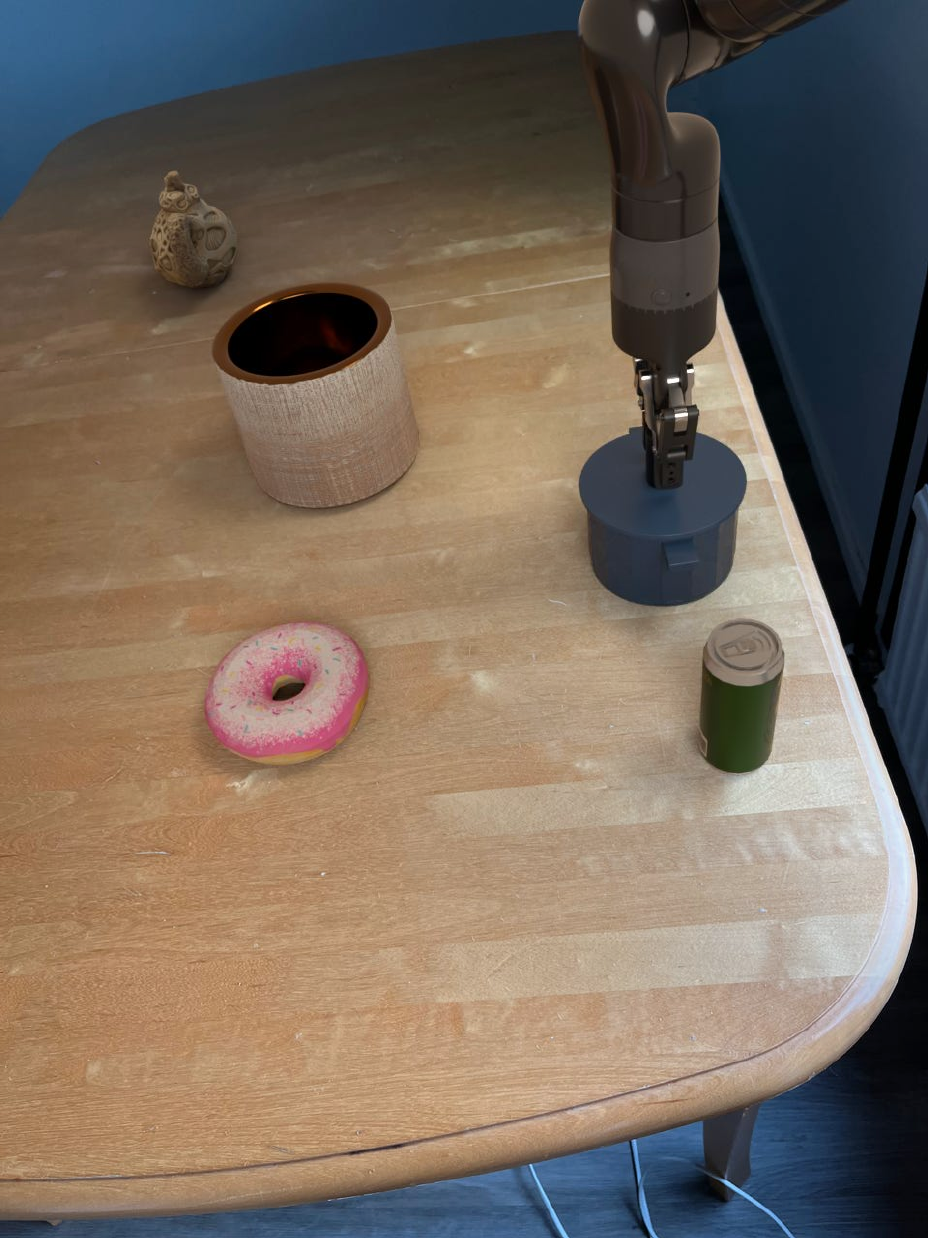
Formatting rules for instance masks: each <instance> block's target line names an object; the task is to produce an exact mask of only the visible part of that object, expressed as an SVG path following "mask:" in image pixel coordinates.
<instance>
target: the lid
mask: <svg viewBox="0 0 928 1238" xmlns="http://www.w3.org/2000/svg"><path fill="white" fill-rule="evenodd" d="M645 433H646V450H644V447H643V444H642V431H636V432H633V433H629V432H628V433H626V434H624V435H621V436H618V437H615V438H614V439H611V440H609V441H607V442H606V443H605V444H603V445H602V446H600V447H599V448H598V449H596V450H595V451H594V452H592V454H591V455H590V456H589V457H588V459H587V460H586V461H585V462H584V464H583V466H582V467H581V470H580V474H579V477H578V493H579V498H580V500H581V503H582V505H583V507H584V509H585V510H586V512H587V511H588V512H589V513H590V515H591V516H592V517H593V518H595V519H596V520H597V521H598V522H600V523H601V524H602V525H604V526H606V527H608V528H609V529H611V530H613V531H616V532H618V533H621V534H624V535H628V536H631V537H636V538H641V539H651V540H670V539H680V538H685V537H690V536H693V535H697V534H700V533H703V532H705V531H708V530H710V529H712V528H714V527H716V526H718V525H720V524H721V523H723V522H724V521H725V520H727V519H728V518H729V517H730V516H731V515H732V514H734V512H735V511H736V510H737V509H738V507H739V508H740V506H741V505H742V502H743V501H744V499H745V496H746V493H747V486H748V478H747V477H748V476H747V471H746V468H745V466H744V464H743V462H742V460H741V459H740V457H739V456H738V455H737V453H735V451H733V449H731V448H730V447H729V446H728V445H726V444H725V443H724V442H722V441H720V440H719V439H716V438H714V437H712V436H710V435H707V434H704V433H702V432H698V431H696V438H695V445H694V455H693V459H692V460H688V461H684V464H683V484H682V486H681V487H679V488H675V489H668V490H657V489H656V487H655V483H654V452H653V451H652V446H653V434H652V430H651V429H649V427H647V428H646V432H645Z"/></svg>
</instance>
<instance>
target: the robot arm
mask: <svg viewBox="0 0 928 1238" xmlns="http://www.w3.org/2000/svg"><path fill="white" fill-rule="evenodd" d="M850 2H853V0H584V1H583V3H582V6H581V9H580V12H579V16H578V17H579V18H578V23H577V28H576V29H577V30H576V31H577V32H576V41H577V42H576V44H577V45H576V46H577V51H578V58H579V62H580V63H579V64H580V66H581V70H582V74H583V76H584V79H585V84H586V85H587V88H588V89H587V90H588V91H589V94H590V97H591V101H592V105H593V108H594V110H595V114H596V117H597V121H598V126H599V128H600V132H601V136H602V139H603V143H604V146H605V150H606V152H607V153H606V154H607V157H608V161H609V166H610V207H611V208H610V209H611V230H610V238H609V239H610V241H609V249H608V250H609V253H608V254H609V257H608V258H609V288H610V291H609V293H610V320H611V322H610V323H611V338H612V340H613V342H614V344H615V345H616V347H617V348H618V349H619V350H620V351H622V353H624V354H625V355H628V356H629V357H632V360H631V361H632V364H633V369H634V370H633V371H634V377H633V386H634V388H635V390H636V396H638V400H637V406H638V407H639V409H640V411H641V426H642V444H643V447H644V450H646V433H645V432H646V428H647V427H649V429H651V430H652V434H653V446H652V451H653V452H654V483H655V487H656V489H657V490H668V489H675V488H679V487H681V486H682V484H683V464H684V461H688V460H692V459H693V455H694V445H695V438H696V432H698V424H699V416H700V409H699V408H698V405H697V404H696V403H694V404H693V395H692V391H693V390H692V389H693V387H694V386H695V382H696V381H695V367H694V363H693V362H688V361H689V360H690V359H691V358H693V357H694V356H695V355H696V354H698V353H699V352H701V351H703V350H704V349H705V348H707V346H708V345H709V344H711V342H712V340H713V339H714V336H715V334H716V329H717V315H718V295H719V293H718V292H719V273H720V272H719V271H720V256H721V240H720V229H719V200H720V198H719V197H720V178H721V177H720V176H721V175H720V174H721V141H720V136H719V134H718V131H717V129H716V127H715V126H714V125H713V123H712V122H711V121H709V120H708V119H706V118H705V117H702V116H701V115H699V114H694V113H690V112H680V111H678V112H675V111H674V112H668V108H667V96H668V91H669V90H671V89H674V88H676V87H679V86H681V85H683V84H686V83H688V82H691V81H693V80H696V79H698V78H700V77H703V76H705V75H707V74H710V73H712V72H715V71H717V70H719V69H722V68H724V67H726V66H728V65H729V64H732V63H734V62H735V61H737V60H740V59H742V58H743V57H744V56H746V55H748V54H750V53H752V52H753V51H755V50H756V49H758V48H759V47H761V46H762V45H764V44H765V43H767V42H768V41H770V40H773V39H775V38H777V37H781V36H783V35H785V34H788V33H790V32H792V31H794V30H797V29H798V28H801V27H802V26H804V25H806V24H808V23H810V22H812V21H815V20H816V19H819V18H821V17H823V16H825V15H827V14H828V13H831V12H833V11H835V10H838V9H839V8H841V7H843V6H844V5H847V4H849V3H850Z"/></svg>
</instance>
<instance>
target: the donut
mask: <svg viewBox="0 0 928 1238" xmlns="http://www.w3.org/2000/svg"><path fill="white" fill-rule="evenodd" d="M290 684H304V685H305V686H303V688H302V689H301V691H300V692H299V693H298V694H296V695H295V696H293V697H291V698H288V699H285V700H274V699H273V697H274V696H275V695H276V694H277V691H278V690H279V689H280V688H283V687H286V686H287V685H290ZM370 685H371V681H370V670H369V666H368V663H367V661H366V658H365V656H364V653H363V651H362V649H361V648H360V646H359V644H358V643H357V642H356V640H354V638H352V637H350V636H349V635H348V634H347V633H346V632H344V631H343V630H341V629H340V628H338V627H335V626H333V625H332V624H328V623H324V622H319V621H294V622H288V623H282V624H279V625H275V626H271V627H268V628H265V629H263V630H261V631H259V632H256V633H254V634H252V635H250V636H249V637H247V638H246V639H244V640H242V641H241V642H239V643H238V644H237V645H235V646H234V647H233V648H232V649H231V650H229V651H228V652H227V653H226V654H225V656H223V658H222V659H221V660H220V662H219V663H218V664H217V666H216V667H215V669H214V671H213V673H212V674H211V676H210V679H209V681H208V684H207V689H206V691H205V697H204V715H205V718H206V723H207V725H208V728H209V729H210V731H211V732H212V733H213V735H214V736H215V738H216V739H217V741H218V743H219V744H220V745H222V746H223V747H224V748H225V749H227V750H228V751H229V752H231V753H232V754H235V755H237V756H238V757H241V758H243V759H245V760H248V761H252V762H254V763H255V762H256V763H258V764H259V763H260V764H264V765H278V766H284V765H293V764H300V763H303V762H304V763H305V762H307V761H310V760H314V759H316V758H318V757H321V756H322V755H325V754H327V753H328V752H330V751H332V750H333V749H335V748H336V747H337V746H339V745H340V744H341V743H342V742H344V741H345V740H346V739H347V737H348V736H349V735H350V734H351V733H352V732H353V730H354V728H355V727H356V725H357V724H358V722H359V720H360V718H361V716H362V714H363V711H364V708H365V706H366V702H367V701H368V696H369V690H370Z"/></svg>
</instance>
